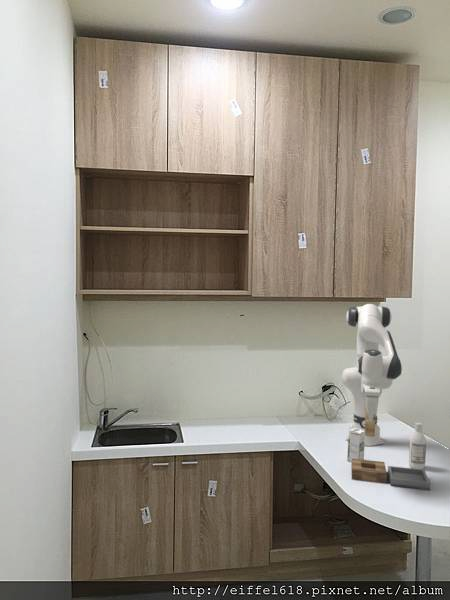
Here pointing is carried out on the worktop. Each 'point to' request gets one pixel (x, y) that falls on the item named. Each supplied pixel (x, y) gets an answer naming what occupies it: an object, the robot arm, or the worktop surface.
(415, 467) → the bath foam
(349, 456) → the syrup box
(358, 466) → the holder
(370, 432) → the dowel
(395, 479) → the tray
